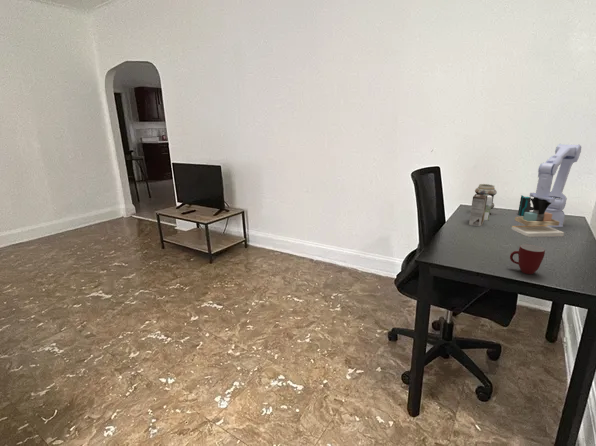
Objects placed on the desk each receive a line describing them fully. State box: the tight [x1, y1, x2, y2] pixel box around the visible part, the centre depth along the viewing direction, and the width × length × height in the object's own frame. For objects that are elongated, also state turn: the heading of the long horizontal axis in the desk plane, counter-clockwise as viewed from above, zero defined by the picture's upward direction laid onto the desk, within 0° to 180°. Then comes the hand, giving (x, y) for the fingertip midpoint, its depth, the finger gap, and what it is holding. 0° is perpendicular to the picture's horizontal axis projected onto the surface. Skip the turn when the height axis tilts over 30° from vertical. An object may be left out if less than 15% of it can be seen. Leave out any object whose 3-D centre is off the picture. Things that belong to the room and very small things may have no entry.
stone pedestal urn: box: [474, 183, 497, 216], centre depth 211 cm, size 12×12×18 cm
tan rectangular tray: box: [514, 210, 559, 226], centre depth 176 cm, size 17×9×6 cm, turn 94°
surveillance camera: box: [517, 195, 533, 217], centre depth 206 cm, size 6×12×10 cm
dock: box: [511, 225, 565, 238], centre depth 177 cm, size 19×12×2 cm, turn 94°
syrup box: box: [484, 195, 494, 221], centre depth 199 cm, size 6×6×14 cm
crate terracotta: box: [543, 212, 552, 221], centre depth 176 cm, size 4×4×4 cm
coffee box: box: [468, 193, 488, 227], centre depth 190 cm, size 9×6×16 cm
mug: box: [509, 244, 546, 275], centre depth 131 cm, size 10×8×10 cm
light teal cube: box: [522, 211, 538, 221], centre depth 176 cm, size 4×4×4 cm
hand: (538, 213), depth 175 cm, fingers closed on tan rectangular tray, 3 cm apart
